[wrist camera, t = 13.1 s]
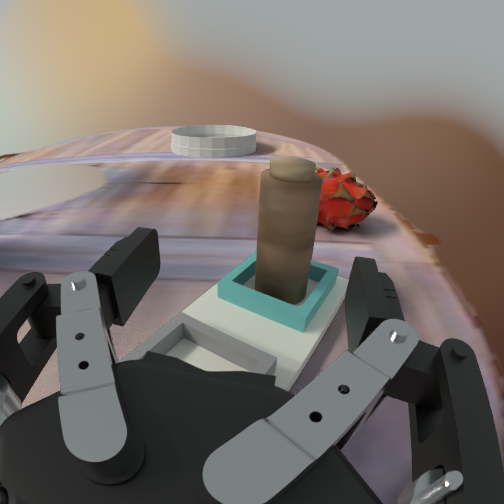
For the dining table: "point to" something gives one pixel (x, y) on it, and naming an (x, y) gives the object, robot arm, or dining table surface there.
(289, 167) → the jar
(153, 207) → the dining table surface
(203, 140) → the dish
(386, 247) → the dining table surface
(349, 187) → the dragon fruit
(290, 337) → the frame board
